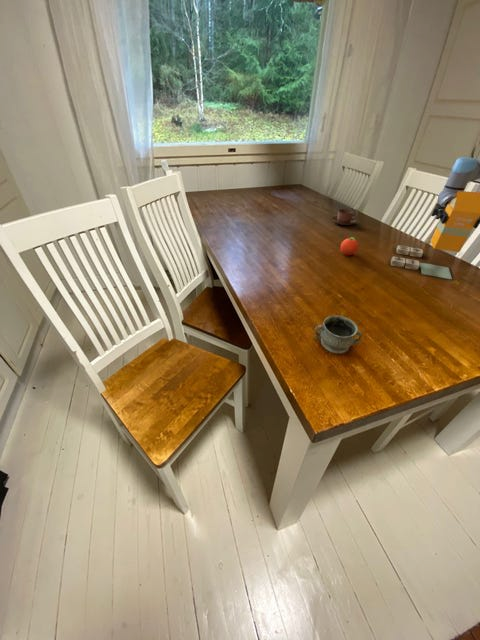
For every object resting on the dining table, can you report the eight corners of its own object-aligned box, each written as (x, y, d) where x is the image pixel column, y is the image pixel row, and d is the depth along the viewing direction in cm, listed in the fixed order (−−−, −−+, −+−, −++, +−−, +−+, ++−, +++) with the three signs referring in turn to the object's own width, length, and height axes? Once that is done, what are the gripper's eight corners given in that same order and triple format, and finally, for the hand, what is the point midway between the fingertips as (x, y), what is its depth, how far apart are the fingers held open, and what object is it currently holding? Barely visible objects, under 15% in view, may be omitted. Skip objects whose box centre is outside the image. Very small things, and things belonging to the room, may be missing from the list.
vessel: (356, 336, 76) (363, 318, 72) (359, 359, 69) (367, 341, 65) (312, 329, 78) (316, 311, 74) (311, 350, 71) (316, 332, 67)
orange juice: (459, 252, 103) (491, 196, 90) (433, 248, 105) (460, 193, 92) (454, 244, 109) (483, 190, 96) (429, 241, 111) (454, 188, 98)
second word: (448, 268, 108) (450, 263, 106) (451, 279, 100) (454, 274, 99) (391, 257, 114) (393, 253, 113) (390, 268, 107) (392, 263, 106)
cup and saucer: (352, 220, 150) (355, 208, 146) (356, 227, 141) (360, 215, 137) (330, 218, 151) (333, 207, 147) (332, 226, 142) (335, 214, 138)
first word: (420, 253, 118) (422, 248, 116) (421, 257, 115) (423, 253, 113) (396, 249, 121) (398, 244, 119) (396, 253, 118) (398, 248, 116)
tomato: (341, 248, 121) (345, 232, 116) (357, 252, 118) (362, 236, 114) (337, 255, 115) (341, 239, 111) (354, 259, 113) (359, 242, 108)
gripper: (478, 218, 112) (491, 237, 96) (418, 210, 119) (421, 227, 103) (489, 199, 107) (504, 216, 91) (426, 192, 114) (430, 206, 98)
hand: (460, 222), depth 97 cm, fingers closed on orange juice, 9 cm apart
